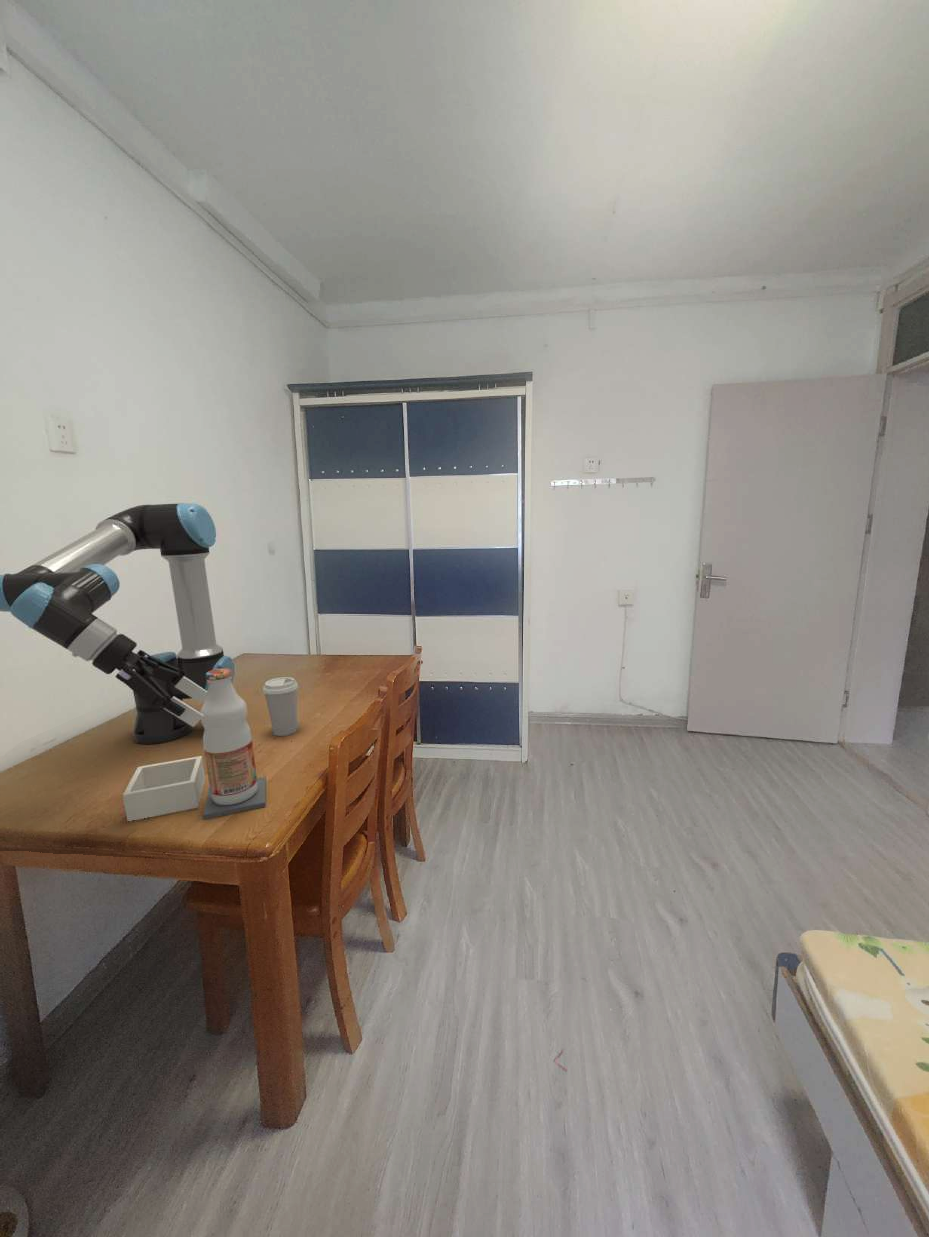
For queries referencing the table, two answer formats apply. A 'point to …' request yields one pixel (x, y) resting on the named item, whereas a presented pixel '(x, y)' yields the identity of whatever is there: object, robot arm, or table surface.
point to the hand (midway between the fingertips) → (202, 709)
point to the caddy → (164, 788)
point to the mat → (249, 804)
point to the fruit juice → (227, 741)
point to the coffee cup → (282, 705)
